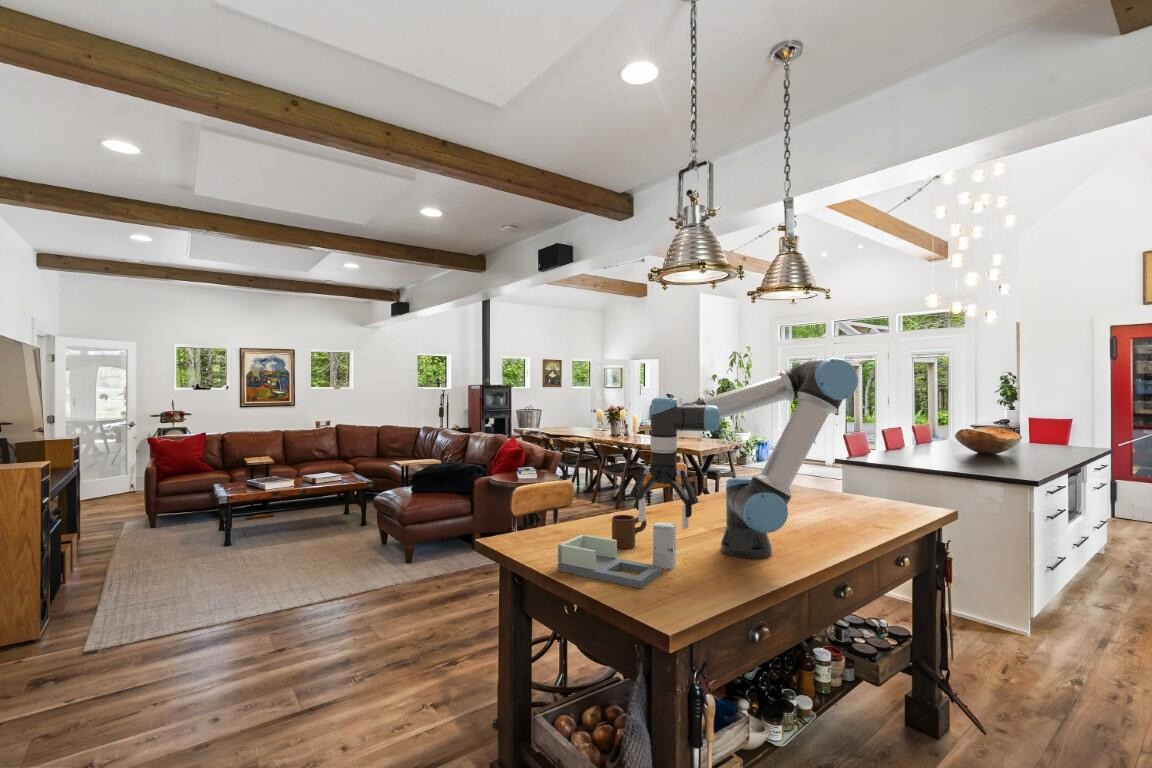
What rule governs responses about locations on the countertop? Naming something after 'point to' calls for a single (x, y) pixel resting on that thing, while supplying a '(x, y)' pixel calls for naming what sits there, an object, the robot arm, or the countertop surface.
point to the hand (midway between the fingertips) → (663, 524)
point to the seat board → (609, 568)
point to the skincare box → (664, 545)
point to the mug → (625, 530)
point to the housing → (586, 550)
